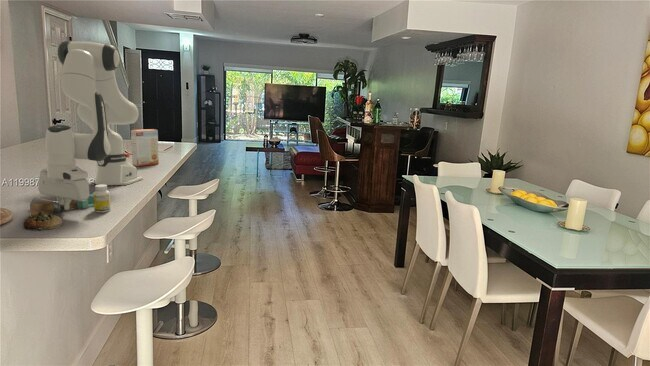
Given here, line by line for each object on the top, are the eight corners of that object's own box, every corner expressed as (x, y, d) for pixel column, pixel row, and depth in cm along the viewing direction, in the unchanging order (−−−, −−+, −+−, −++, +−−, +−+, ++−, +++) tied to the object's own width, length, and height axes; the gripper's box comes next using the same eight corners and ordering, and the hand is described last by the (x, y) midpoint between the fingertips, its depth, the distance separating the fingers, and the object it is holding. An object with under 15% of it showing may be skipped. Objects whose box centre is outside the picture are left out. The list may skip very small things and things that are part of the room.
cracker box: (153, 162, 259) (152, 128, 255) (159, 164, 256) (158, 129, 251) (131, 165, 248) (130, 129, 243) (137, 166, 244) (136, 130, 240)
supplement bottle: (98, 208, 161) (96, 183, 159) (112, 209, 162) (111, 184, 160) (91, 212, 156) (90, 186, 154) (106, 213, 156) (105, 187, 154)
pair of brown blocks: (70, 205, 162) (70, 194, 161) (78, 207, 161) (78, 195, 160) (30, 216, 147) (29, 203, 146) (39, 217, 146) (38, 205, 145)
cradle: (84, 199, 171) (83, 192, 171) (103, 203, 168) (103, 196, 168) (63, 205, 162) (62, 197, 162) (83, 208, 159) (82, 201, 159)
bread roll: (14, 226, 136) (15, 211, 136) (47, 222, 147) (49, 208, 146) (38, 234, 132) (39, 218, 132) (70, 229, 143) (72, 214, 142)
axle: (41, 206, 159) (39, 196, 158) (65, 210, 155) (63, 201, 154) (31, 209, 155) (29, 199, 154) (56, 214, 152) (54, 204, 150)
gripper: (31, 169, 150) (34, 206, 153) (76, 176, 144) (78, 215, 147) (48, 166, 156) (50, 203, 159) (91, 173, 150) (93, 210, 153)
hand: (64, 209), depth 153 cm, fingers closed
